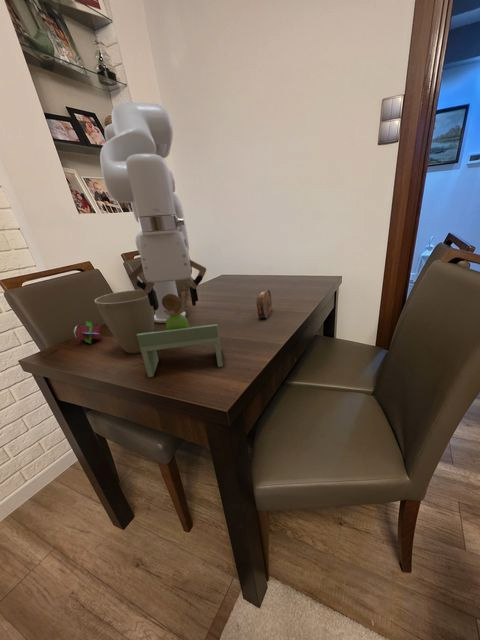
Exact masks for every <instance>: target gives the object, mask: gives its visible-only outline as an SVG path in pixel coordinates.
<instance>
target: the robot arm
mask: <svg viewBox="0 0 480 640" xmlns="http://www.w3.org/2000/svg"><path fill="white" fill-rule="evenodd" d="M173 137H174V131H173V124H172V121H171V117H170V115H169V113H168V111H167V110H166V109H165V107H164V106H163V105H160V104H158V103H149V102H137V101H136V102H134V101H123V102H119V103H117V104H116V105H115V106H114V107H113V109H112V110H111V123H109V124H107V125H106V126H105V127H104V138H105V141H106V142H105V143H104V144H103V146H102V147H101V149H100V156H99V159H100V161H99V162H100V169H101V173H102V179H103V183H104V186H105V189H106V191H107V193H108V195H109V196H110V198H112V199H113V200H114V201H116V202H118V203H130V205H131V209H132V214H133V217H134V219H135V221H136V222H137V223H138V224H139V227H140V231H139V232H137V233H136V235H135V238H134V241H135V245H136V248H137V251H138V254H139V256H140V261H141V264H140V265H139V266H138V267H136V269H134V270H133V271H132V272H131V273H130V274H129V275H128V278H129V279H130V280H131V281H132V282H133V283H134V284H136V287H138V288H139V289H140V290H144V291H145V292H146V293H147V294H148V298H149V302H150V306H153V309H154V323H157V324H158V323H159V324H166V320H167V318H168V317H169V316H171V315H168V314H166V313H165V312H164V310H166V309H165V308H164V307H163V304H162V299H163V297H164V296H165V295H167V294H174V295H176V296H178V297H179V294H178V289H177V288H178V287H177V283H176V281H177V282H178V281H185V282H186V283H187V284H188V285H189V294H190V300H191V305H192V307H196V306H197V305H196V304H197V302H199V297H198V290H197V287H198V286H199V285H200V283H201V282H202V281H203V279H204V277H205V275H206V272H207V266H204V265H203V264H201V263H199V262H197V261H195V260H193V259H191V257H190V252H189V251H190V244H189V243H190V242H189V237H188V232H187V231H188V230H187V225H186V220H185V216H184V209H183V206H182V202H181V200H180V198H179V196H178V195H177V194H175V192H176V181H175V179H174V174H173V172H172V170H170V169H169V167H168V164H167V161H166V160H165V159H166V158H167V157H169V155H170V152H171V148H172V144H173ZM193 268H194V269H195V270H197V271H198V273H197V276H196V277H195V278H193V277H192V274H193ZM142 273H143V277H144V279H145V281H146V282H145V281H143V280H141V278H140V277H139V276H140V274H142ZM181 315H183V316H185V317H186V316H187V313H186V311H184V312H182V313H181Z"/></svg>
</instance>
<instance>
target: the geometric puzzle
mask: <svg viewBox="0 0 480 640" xmlns="http://www.w3.org/2000/svg"><path fill="white" fill-rule="evenodd" d="M100 334H101V326H100V325H97V324H96V325H95V323H93V322H91V321H88V320H85V323H82V325H79V324H77V325H76V326H75V327H74V330H73V335H74V336H75V339H77V340H80V341H82V342H85V343H88V344H90V345H92V340H93V342H95V341H96V340H100Z"/></svg>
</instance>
